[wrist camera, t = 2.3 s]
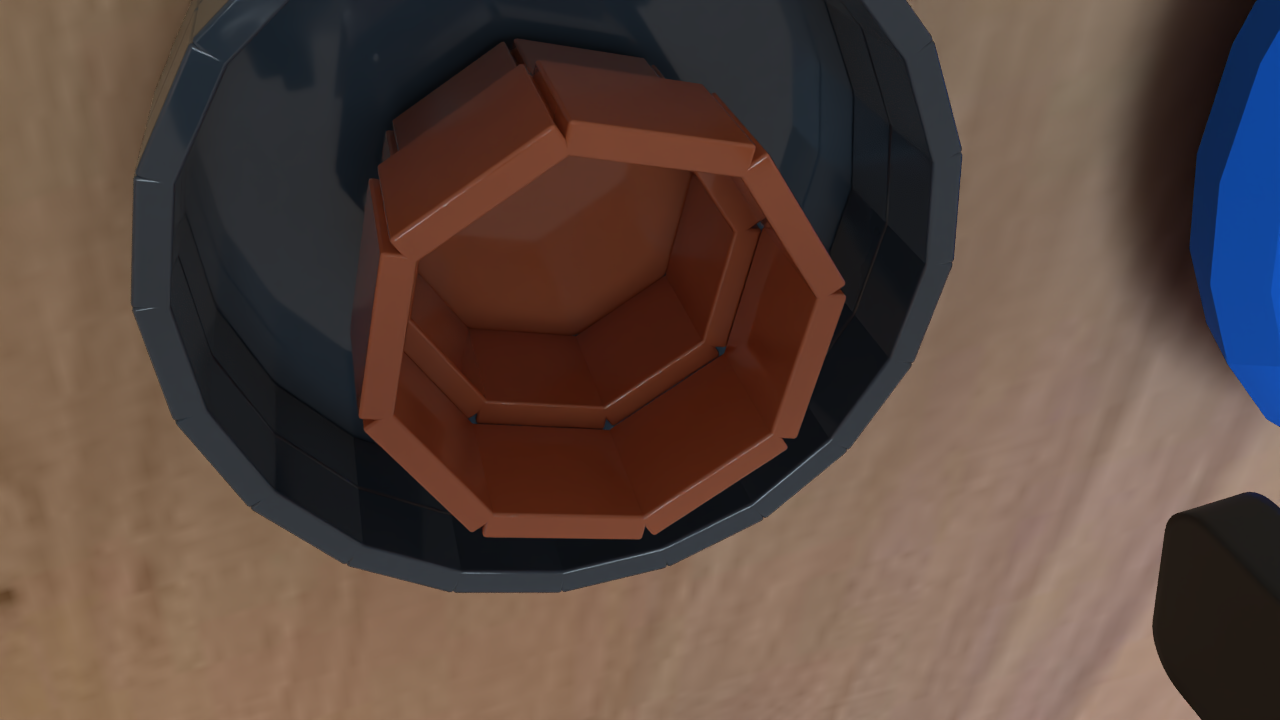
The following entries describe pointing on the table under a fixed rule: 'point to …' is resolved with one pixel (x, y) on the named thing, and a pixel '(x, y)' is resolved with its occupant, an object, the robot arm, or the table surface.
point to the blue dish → (1243, 210)
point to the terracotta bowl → (583, 296)
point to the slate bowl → (322, 308)
